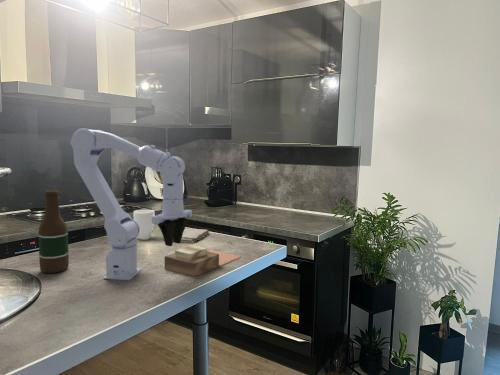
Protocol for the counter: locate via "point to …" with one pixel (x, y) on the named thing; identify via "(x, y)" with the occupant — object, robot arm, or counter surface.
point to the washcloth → (193, 235)
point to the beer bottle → (53, 237)
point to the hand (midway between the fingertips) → (173, 244)
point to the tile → (190, 252)
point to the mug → (144, 222)
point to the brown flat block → (192, 264)
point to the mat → (225, 257)
